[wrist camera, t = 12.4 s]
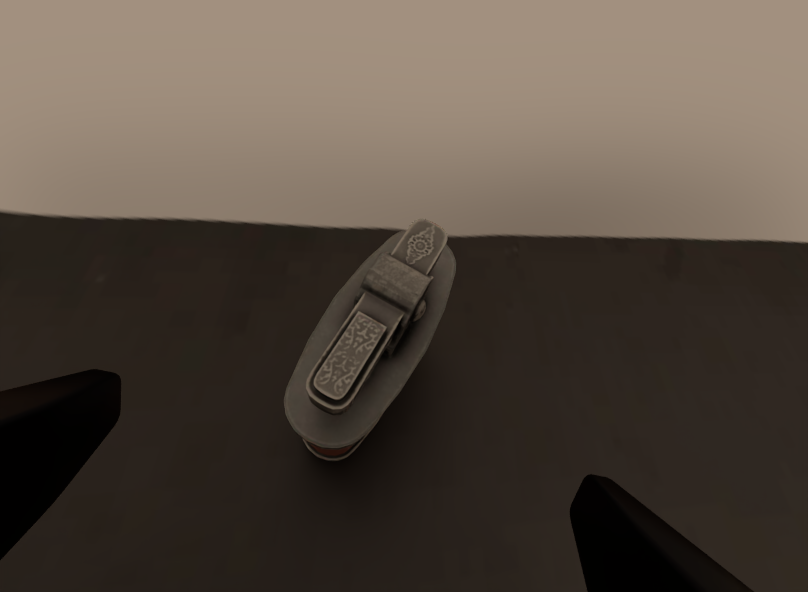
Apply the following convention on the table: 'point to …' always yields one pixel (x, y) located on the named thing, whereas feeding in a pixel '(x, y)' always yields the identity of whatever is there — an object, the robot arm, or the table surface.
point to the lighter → (370, 341)
